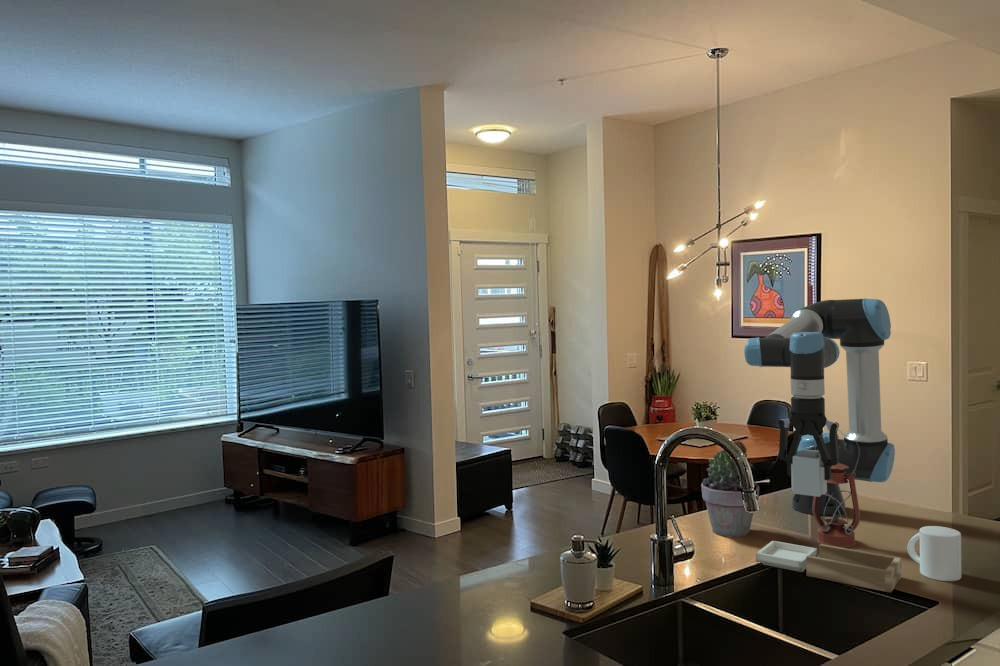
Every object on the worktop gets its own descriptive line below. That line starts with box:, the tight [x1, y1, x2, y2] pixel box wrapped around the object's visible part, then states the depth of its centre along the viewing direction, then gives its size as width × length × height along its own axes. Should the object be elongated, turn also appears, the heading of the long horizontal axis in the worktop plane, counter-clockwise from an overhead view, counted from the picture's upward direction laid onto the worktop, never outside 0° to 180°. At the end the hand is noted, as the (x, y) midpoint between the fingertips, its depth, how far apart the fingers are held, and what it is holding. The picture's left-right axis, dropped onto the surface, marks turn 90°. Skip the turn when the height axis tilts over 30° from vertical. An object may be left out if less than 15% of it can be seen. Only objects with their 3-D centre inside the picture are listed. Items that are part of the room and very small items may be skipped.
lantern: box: [812, 429, 861, 548], centre depth 196 cm, size 10×10×30 cm
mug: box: [906, 525, 962, 582], centre depth 172 cm, size 8×10×12 cm
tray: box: [755, 540, 818, 573], centre depth 183 cm, size 12×11×2 cm
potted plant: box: [697, 440, 760, 538], centre depth 206 cm, size 18×20×25 cm
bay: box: [805, 543, 902, 593], centre depth 171 cm, size 11×18×4 cm, turn 51°
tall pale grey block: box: [792, 449, 824, 497], centre depth 178 cm, size 6×6×10 cm
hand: (809, 491), depth 178 cm, fingers closed on tall pale grey block, 6 cm apart
